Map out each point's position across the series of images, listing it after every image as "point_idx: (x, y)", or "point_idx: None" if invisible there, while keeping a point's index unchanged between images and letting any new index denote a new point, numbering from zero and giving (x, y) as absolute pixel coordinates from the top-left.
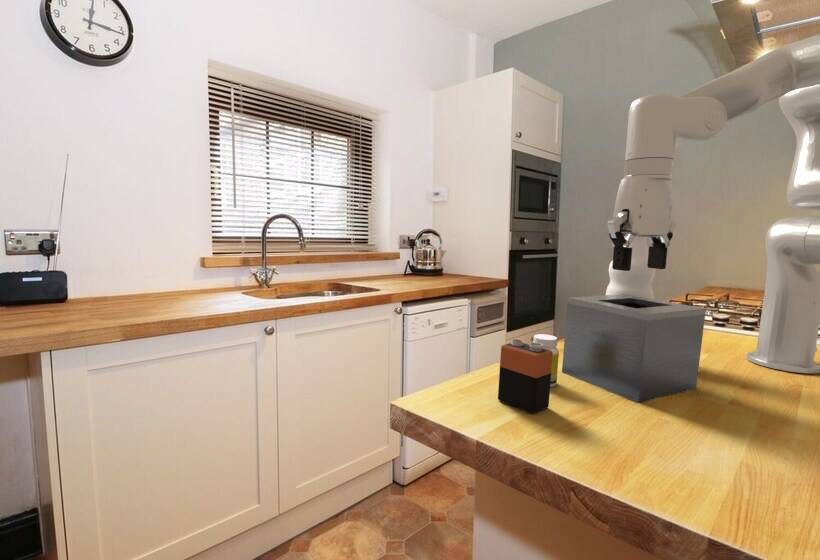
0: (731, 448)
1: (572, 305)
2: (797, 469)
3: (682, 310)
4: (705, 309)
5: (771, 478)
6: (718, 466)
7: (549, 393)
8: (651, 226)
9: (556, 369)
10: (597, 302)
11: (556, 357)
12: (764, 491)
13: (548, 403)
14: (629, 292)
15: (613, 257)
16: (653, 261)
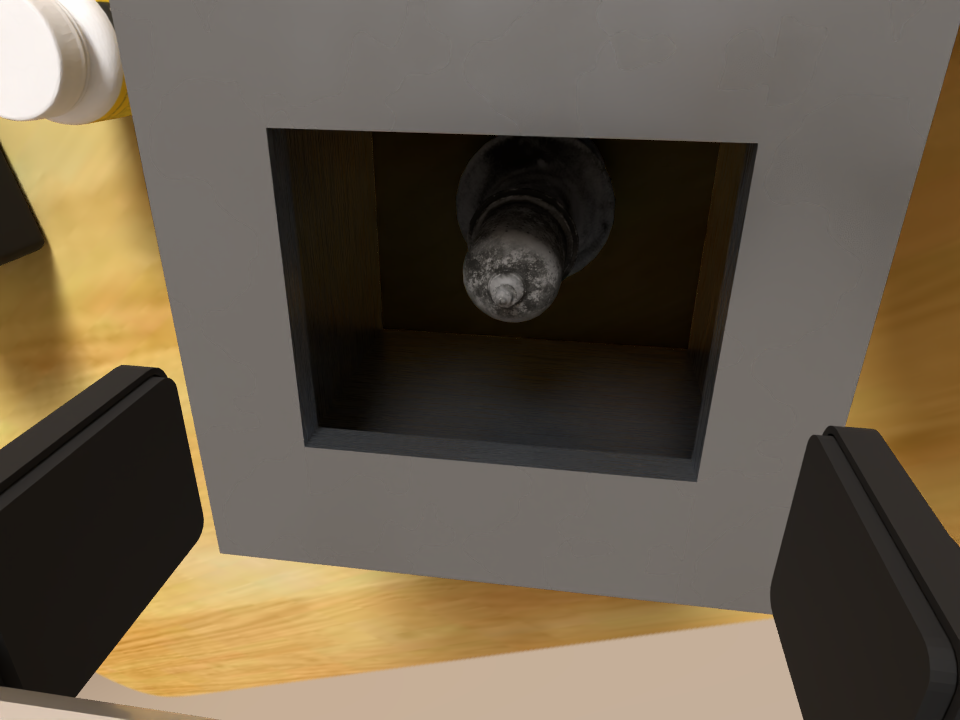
0: (340, 573)
1: None
2: (376, 653)
3: (541, 585)
4: None
5: (293, 639)
6: (239, 584)
7: (8, 261)
8: None
9: None
10: (198, 202)
11: (98, 121)
12: (237, 643)
13: (31, 252)
14: None
15: (33, 432)
16: (816, 554)
